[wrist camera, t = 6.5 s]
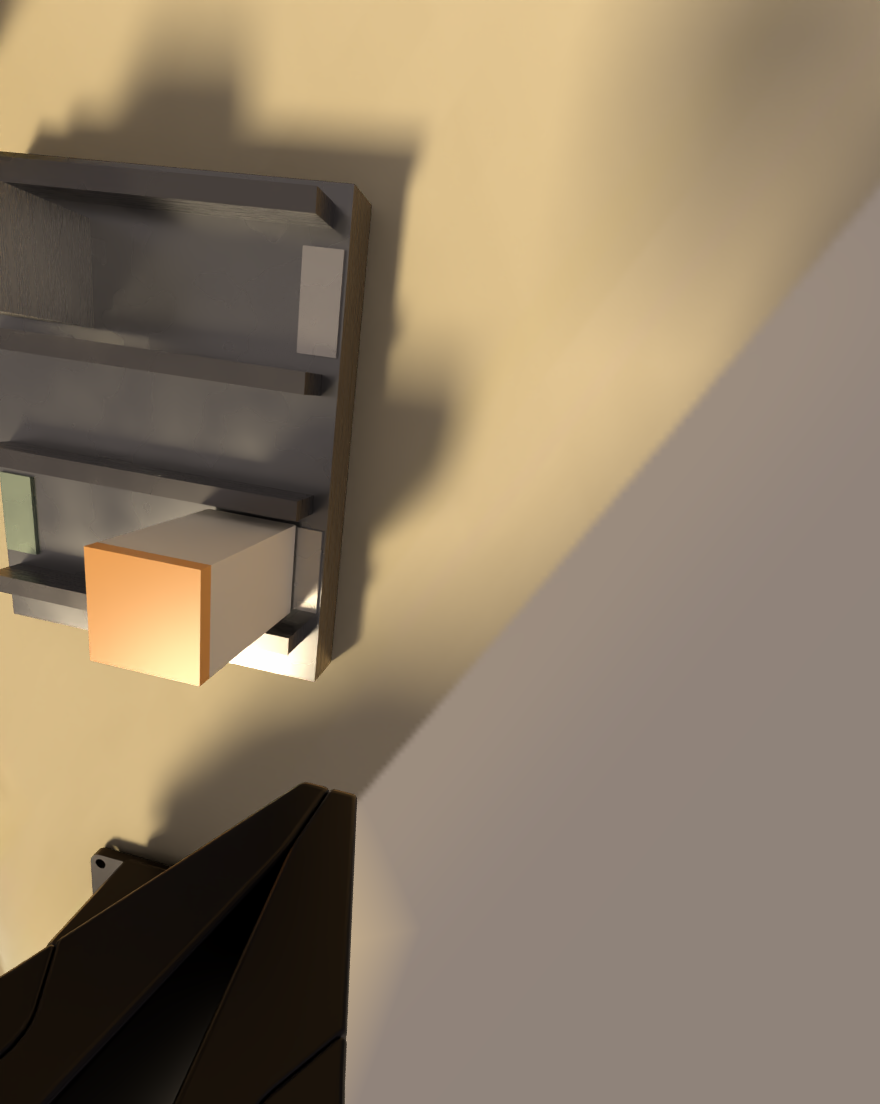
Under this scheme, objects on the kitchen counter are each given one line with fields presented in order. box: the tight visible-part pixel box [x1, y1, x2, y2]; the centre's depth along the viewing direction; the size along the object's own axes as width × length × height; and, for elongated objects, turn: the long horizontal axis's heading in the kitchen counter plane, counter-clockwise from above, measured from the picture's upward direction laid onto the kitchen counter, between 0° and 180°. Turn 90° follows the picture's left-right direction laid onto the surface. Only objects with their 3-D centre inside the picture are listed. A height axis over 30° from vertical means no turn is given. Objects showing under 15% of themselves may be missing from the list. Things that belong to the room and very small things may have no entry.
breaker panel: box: [0, 151, 371, 682], centre depth 15 cm, size 15×12×6 cm
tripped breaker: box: [84, 509, 296, 686], centre depth 15 cm, size 3×3×5 cm
